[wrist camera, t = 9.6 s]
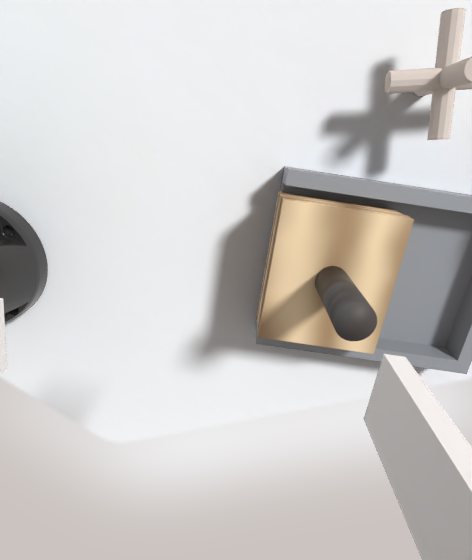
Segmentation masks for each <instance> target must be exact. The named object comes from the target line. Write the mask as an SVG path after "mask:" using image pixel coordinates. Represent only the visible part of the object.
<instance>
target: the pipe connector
mask: <svg viewBox="0 0 472 560" xmlns="http://www.w3.org/2000/svg"><path fill="white" fill-rule="evenodd" d="M465 11H466V9H465V8H454V9H449V10H446V11H443V12H442V13H441V18H440V27H439V37H438V46H437V55H436V64H435V68H425V69H408V70H390V71H388V72H387V73H386V77H385V82H384V90H385V93H387V94H389V93H408V92H414V94H415V95H417V96H424V95H428V94H432V102H431V111H430V120H429V129H428V139H427V140H440V139H450V131H451V123H452V115H453V107H454V99H455V91H456V90H464V89H472V57H470V58H467V59H464V60H462V61H459V59H460V51H461V43H462V35H463V27H464V19H465Z"/></svg>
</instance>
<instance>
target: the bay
mask: <svg viewBox="0 0 472 560" xmlns="http://www.w3.org/2000/svg"><path fill="white" fill-rule="evenodd" d="M280 192H284V193H290V194H297V195H304V196H310V197H317V198H323V199H330V200H336V201H343V202H350V203H356V204H363V205H369V206H376V207H382V208H389V209H393V210H396V211H399V213H401V214H404V215H407V216H409V217H410V218H412V219H414V222H413V225H412V228H411V232H410V235H409V239H408V242H407V245H406V249H405V252H404V255H403V259H402V262H401V265H400V269H399V272H398V275H397V279H396V282H395V285H394V289H393V292H392V295H391V299H390V302H389V305H388V309H387V312H386V315H385V319H384V322H383V325H382V329H381V332H380V335H379V339H378V342H377V345H376V349H375V352H374V354H370V353H363V352H356V351H349V350H343V349H336V348H329V347H322V346H315V345H308V344H301V343H294V342H287V341H281V340H274V339H267V338H260V337H258V333H257V327H258V326H257V322H256V343H257V344H263V345H270V346H277V347H284V348H291V349H298V350H304V351H311V352H318V353H325V354H332V355H339V356H346V357H353V358H360V359H367V360H374V361H380V362H381V361H382V358H383V355H384V354H389V355H396V356H403V357H406V358H407V360H408V361H409V362H410V364H411V365H412V366H415V367H422V368H429V369H436V370H443V371H450V372H456V373H463V374H467V371H468V369H469V366H470V364H471V361H472V195H467V194H460V193H454V192H447V191H441V190H434V189H428V188H421V187H415V186H408V185H402V184H395V183H389V182H382V181H376V180H369V179H363V178H356V177H350V176H343V175H337V174H330V173H323V172H317V171H310V170H304V169H297V168H291V167H284V172H283V178H282V183H281V189H280Z"/></svg>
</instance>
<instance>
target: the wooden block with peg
mask: <svg viewBox="0 0 472 560" xmlns="http://www.w3.org/2000/svg"><path fill="white" fill-rule="evenodd" d="M413 222H414V219H412V218H410V217H409V216H407V215H404V214H401V213H399V211H396V210H393V209H389V208H382V207H376V206H369V205H363V204H356V203H350V202H343V201H336V200H330V199H323V198H317V197H310V196H304V195H297V194H290V193H284V192H278V198H277V203H276V209H275V214H274V220H273V226H272V231H271V237H270V242H269V248H268V254H267V259H266V265H265V270H264V276H263V282H262V287H261V293H260V298H259V304H258V310H257V326H258V327H257V333H258V337H260V338H267V339H274V340H281V341H287V342H294V343H301V344H308V345H315V346H322V347H329V348H336V349H343V350H349V351H356V352H363V353H370V354H374V352H375V349H376V345H377V342H378V339H379V335H380V332H381V329H382V325H383V322H384V319H385V315H386V312H387V309H388V305H389V302H390V299H391V295H392V292H393V289H394V285H395V282H396V279H397V275H398V272H399V269H400V265H401V262H402V259H403V255H404V252H405V249H406V245H407V242H408V239H409V235H410V232H411V228H412V225H413Z"/></svg>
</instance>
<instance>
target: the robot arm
mask: <svg viewBox="0 0 472 560" xmlns="http://www.w3.org/2000/svg"><path fill="white" fill-rule="evenodd" d="M47 270H48V269H47V259H46V255H45V251H44V248H43V246H42V243H41V241H40V239H39V237H38V236H37V234H36V232H35V231H34V230H33V228H32V227H31V226H30V224H29V223H28V222H27V221H26V220H25V219H24V218H23V217H22V216H21V215H20V214H19V213H17V212H16V211H15V210H13V209H12V208H10V207H9V206H7V205H5V204H4V203H2V202H0V375H1V374H2V373H3V372H4V371H5V370H6V369H7V354H6V337H5V322H8V321H10V320H12V319H14V318H16V317H18V316H19V315H21V314H22V313H23V312H25V311H26V310H27V309H29V308H30V307H31V306H32V305H34V304H35V302H36V301H37V300H38V299H39V297H40V296H41V294H42V292H43V290H44V288H45V284H46V280H47ZM364 420H365V423H366V426H367V428H368V431H369V433H370V435H371V438H372V440H373V443H374V445H375V447H376V450H377V452H378V455H379V457H380V459H381V462H382V464H383V467H384V469H385V471H386V474H387V476H388V479H389V481H390V484H391V486H392V488H393V491H394V493H395V496H396V498H397V500H398V503H399V505H400V508H401V510H402V512H403V515H404V517H405V520H406V522H407V525H408V527H409V529H410V532H411V534H412V537H413V539H414V541H415V544H416V546H417V549H418V551H419V553H420V556H421V558H422V560H472V447H471V446H470V444H469V443H468V442H467V440H466V439H465V438H464V436H463V435H462V433H461V432H460V431H459V429H458V428H457V427H456V425H455V424H454V423H453V421H452V420H451V419H450V417H449V416H448V414H447V413H446V412H445V410H444V409H443V407H442V406H441V405H440V403H439V402H438V401H437V399H436V398H435V397H434V395H433V394H432V393H431V391H430V390H429V388H428V387H427V386H426V384H425V383H424V381H423V380H422V379H421V377H420V376H419V375H418V373H417V372H416V370H415V369H414V368H413V366H412V365H411V364H410V362H409V361H408V360H407V358H406V357H403V356H396V355H389V354H384V355H383V358H382V361H381V364H380V368H379V371H378V374H377V377H376V380H375V384H374V387H373V390H372V393H371V397H370V400H369V403H368V407H367V410H366V413H365V416H364Z"/></svg>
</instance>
